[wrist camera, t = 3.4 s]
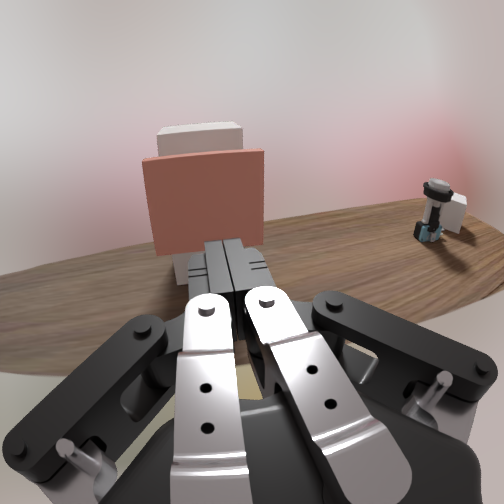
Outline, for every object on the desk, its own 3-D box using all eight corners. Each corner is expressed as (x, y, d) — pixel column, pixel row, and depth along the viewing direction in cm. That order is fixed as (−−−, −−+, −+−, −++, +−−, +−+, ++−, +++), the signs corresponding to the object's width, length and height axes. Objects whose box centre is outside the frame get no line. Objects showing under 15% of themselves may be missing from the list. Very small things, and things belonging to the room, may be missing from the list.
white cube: (458, 223, 49) (465, 196, 46) (458, 234, 45) (467, 205, 42) (433, 214, 52) (439, 187, 49) (431, 224, 48) (438, 195, 45)
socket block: (245, 277, 35) (242, 127, 26) (177, 285, 33) (156, 135, 25) (236, 247, 41) (232, 121, 32) (177, 254, 39) (163, 126, 30)
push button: (432, 229, 46) (444, 177, 41) (451, 244, 41) (465, 189, 36) (406, 232, 45) (418, 175, 40) (425, 247, 40) (440, 187, 35)
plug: (263, 244, 25) (264, 150, 21) (156, 256, 24) (141, 161, 20) (246, 210, 31) (245, 136, 27) (162, 218, 30) (153, 144, 26)
